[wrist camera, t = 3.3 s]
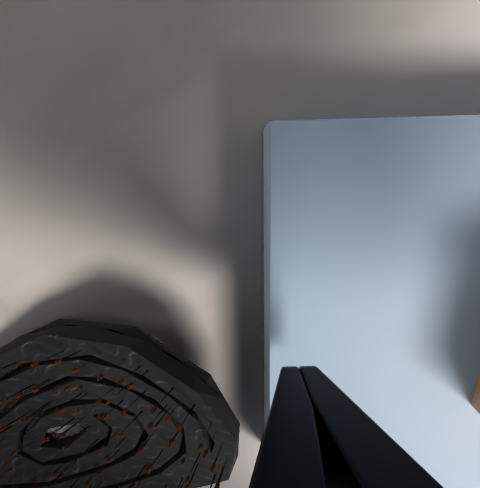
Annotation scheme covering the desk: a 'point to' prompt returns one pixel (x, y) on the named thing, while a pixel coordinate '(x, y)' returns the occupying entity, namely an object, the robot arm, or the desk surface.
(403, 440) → the board
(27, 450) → the black spiral-grooved part
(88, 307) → the desk surface
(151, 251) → the desk surface
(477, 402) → the tile
